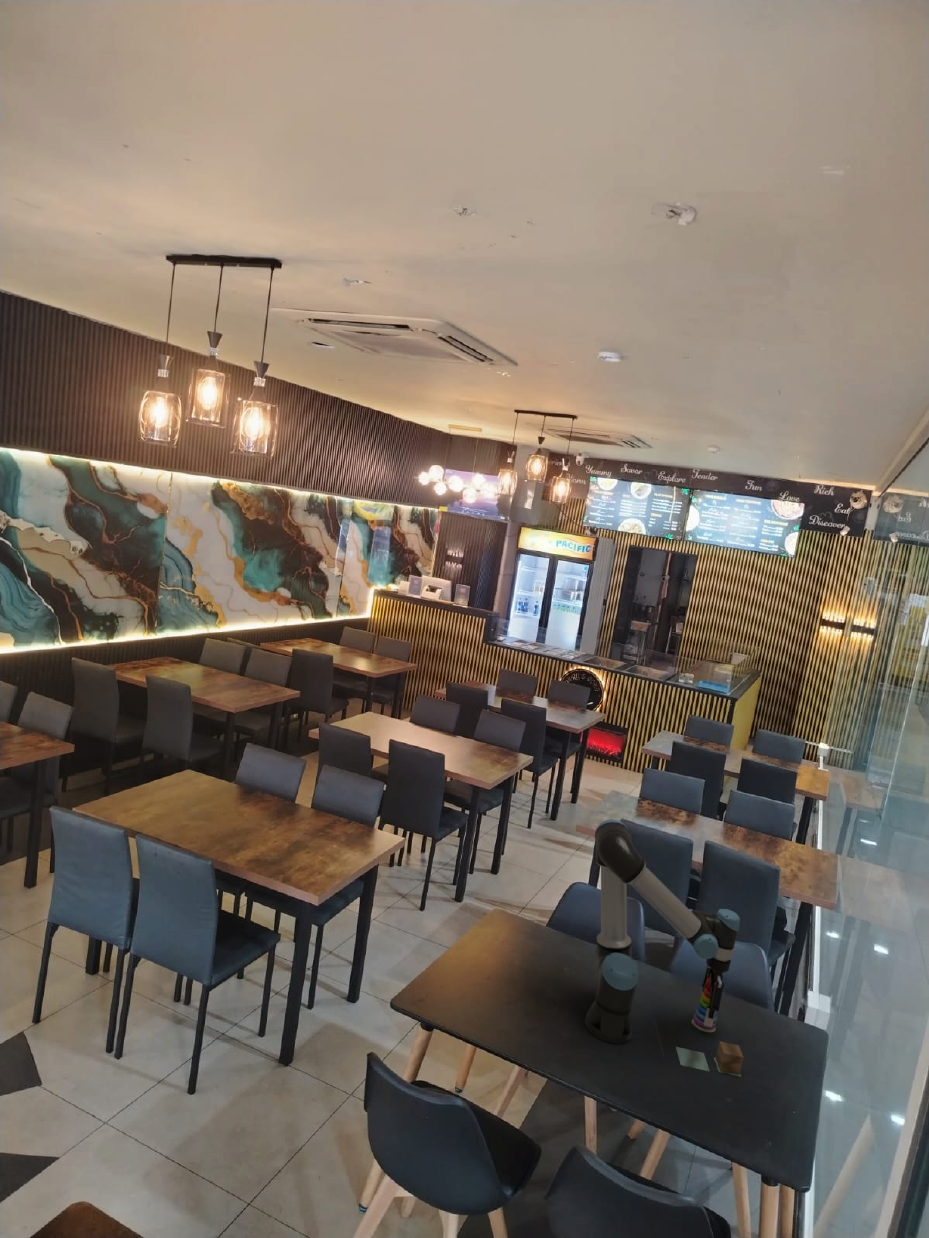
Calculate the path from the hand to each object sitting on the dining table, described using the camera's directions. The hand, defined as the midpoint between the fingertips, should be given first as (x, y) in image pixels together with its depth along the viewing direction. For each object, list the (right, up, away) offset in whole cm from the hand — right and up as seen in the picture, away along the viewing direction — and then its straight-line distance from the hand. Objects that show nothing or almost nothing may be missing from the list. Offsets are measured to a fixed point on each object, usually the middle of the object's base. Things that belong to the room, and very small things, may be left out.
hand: (705, 1018), depth 272 cm
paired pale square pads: (-6, -5, -20) cm, 22 cm away
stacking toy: (-1, -4, 0) cm, 4 cm away
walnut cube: (+1, -5, -21) cm, 21 cm away
